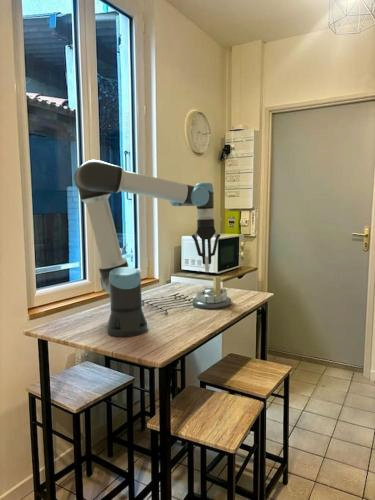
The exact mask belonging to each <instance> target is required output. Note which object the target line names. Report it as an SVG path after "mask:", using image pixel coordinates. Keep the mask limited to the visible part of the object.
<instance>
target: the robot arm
mask: <svg viewBox="0 0 375 500" xmlns="http://www.w3.org/2000/svg"><path fill="white" fill-rule="evenodd" d="M73 181H74V184H75V186H76V189H77V190H78V193H79V197H80V201H82V202H83V203H85V205H86V208H87V209H86V210H87V213H88V217H89V221H90V224H91V228H92V230H93V231H92V232H93V236H94V239H95V240H94V241H95V243H96V247H97V252H98V254H99V259H100V263H99V266H98V271H99V275H100V277H99V279H100V285H101V287H102V289H103V290H104V291H105V292H106V293H107V294H108V295H109V299H110V300H109V301H110V314H109V318H108V321H107V326H106V333H107V334H108V335H109V336H113V337H119V338H121V337H122V338H123V337H124V338H125V337H134V336H138V335H142V334H144V333H146V332H147V330H148V321H147V320H146V319H147V318H146V317H145V314H144V312H143V308H142V307H143V303H142V302H143V301H142V277H141V272H140V270H138V269H137V268H134V267H130V266H129V264H128V260H127V259H126V258H124V257H123V256H122V255H123V254H122V252H121V251H122V250H121V247H120V242H119V239H118V235H117V229H116V226H115V223H114V222H115V221H114V218H113V214H112V210H111V206H110V201H109V198H110V196H111V193H113V194H114V193H115V194H117V193H119V192H124V193H129V194H133V195H138V196H144V197H149V198H153V199H160V200H163V201H164V200H165V201H169V203H170V205H171V206H172V207H196V218H197V220H196V221H197V222H196V223H197V225H196V226H197V227H196V228H197V229H196V231H195V233H193V234H192V235H191V237H192V239H193V242H194V244H195V245H194V246H195V248H196V251H197V255H198V256H199V257H202V265H204V270H205V271H204V272H206V273H208V272H210V265H211V264H212V257H213V256H215V255H216V252H217V251H216V250H217V246H218V241H219V239H220V237H221V234H220V233H218V232H217V231H216V229H215V208H214V207H215V204H214V203H215V202H214V201H215V200H214V199H215V197H214V194H215V193H214V185H213V183H212V182H198V183H196V184H195V185H191V184H186V183H182V182H177V181H173V180H168V179H165V178H159V177H156V176H150V175H146V174H142V173H136V172H133V171H129V170H128V171H127V170H124V168H123V167H122V166H120V165H115V164H111V163H108V162H105V161H103V160H97V159H91V160H88V161H86V162H84V163H82V164H80V165H79V166H78V167H77V168H76V169H75V172H74V176H73ZM198 237H199V238H200V239H201V247H200V243H199V240H198ZM213 237H215V240H214V243H213V248H212V239H213ZM206 240H207V256H206Z"/></svg>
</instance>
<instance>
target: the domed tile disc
mask: <svg viewBox="0 0 375 500" xmlns="http://www.w3.org/2000/svg"><path fill="white" fill-rule="evenodd" d="M212 280H213V281H212V282H213V288H214V295H204V289H206V288H209V286H207V287H206V286H205V287H203V289H201V290H197V291H196V295H195V296H196V297H195V298H196V300H197V301H199V302H204V303H219V302H224V301H226V300H227V297H228V292H227V288H224V287H223V288H222V287H221V284H222V283H221V281H222V280H221V276H218V275H217V276H213V279H212Z"/></svg>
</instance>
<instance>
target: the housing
mask: <svg viewBox="0 0 375 500" xmlns="http://www.w3.org/2000/svg"><path fill="white" fill-rule="evenodd" d="M203 290H204V295H214V287H208V288H206V289H204V288H203ZM192 306H193V307H194V308H196V309H197V308H198V309H202V310H222V309H226V308H229V307H230V306H232V299H231V298H230V297H229V296H227V300H226V301H224V302H219V303H204V302H199V301H197V300H196V297H194V298H193V299H192Z"/></svg>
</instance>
